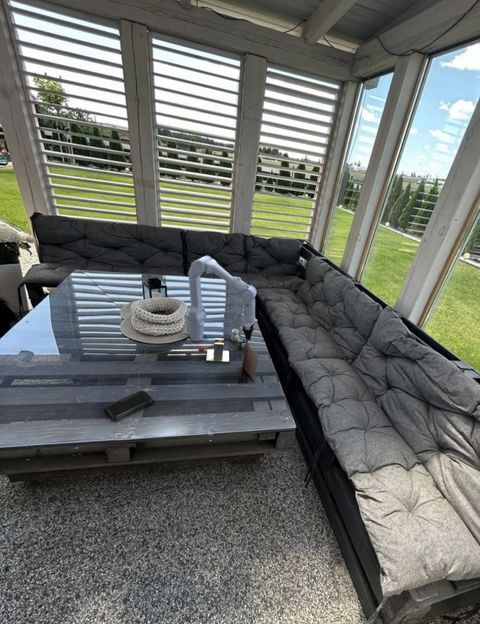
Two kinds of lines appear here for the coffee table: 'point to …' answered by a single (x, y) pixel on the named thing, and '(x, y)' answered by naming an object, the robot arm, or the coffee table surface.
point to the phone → (128, 405)
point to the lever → (202, 349)
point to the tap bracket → (218, 352)
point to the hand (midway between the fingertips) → (248, 336)
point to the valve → (238, 339)
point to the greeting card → (249, 361)
